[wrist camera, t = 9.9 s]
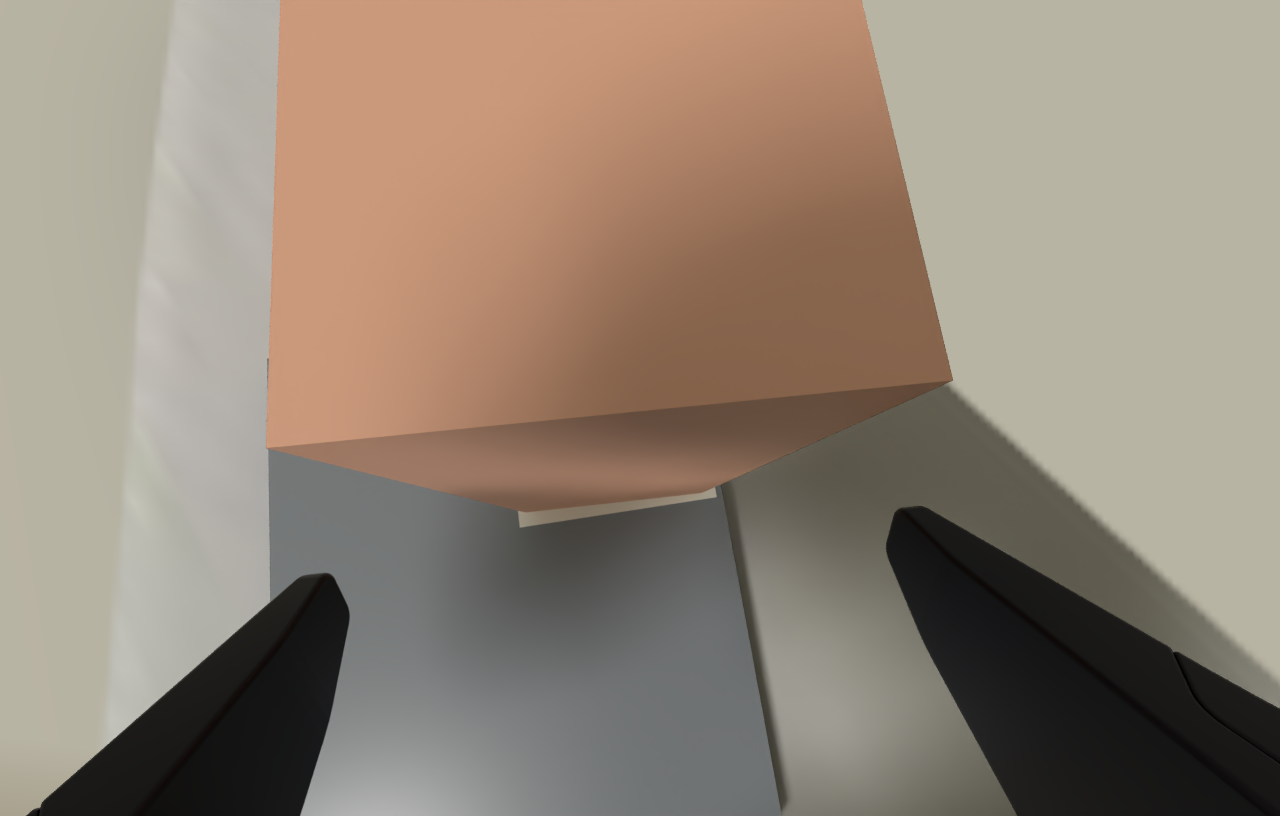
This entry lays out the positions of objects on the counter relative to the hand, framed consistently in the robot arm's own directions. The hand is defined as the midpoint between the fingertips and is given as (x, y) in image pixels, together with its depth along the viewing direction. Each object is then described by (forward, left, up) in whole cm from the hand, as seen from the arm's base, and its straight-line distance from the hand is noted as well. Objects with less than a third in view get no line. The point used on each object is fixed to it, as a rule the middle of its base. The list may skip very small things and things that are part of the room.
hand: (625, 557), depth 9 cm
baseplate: (0, +3, -7) cm, 8 cm away
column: (+4, 0, -7) cm, 8 cm away
